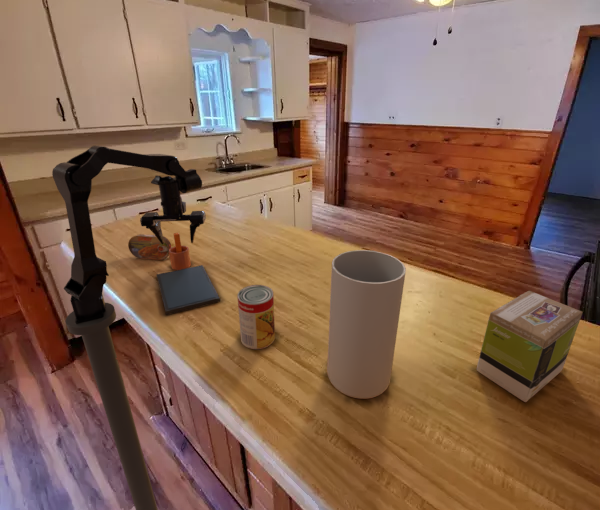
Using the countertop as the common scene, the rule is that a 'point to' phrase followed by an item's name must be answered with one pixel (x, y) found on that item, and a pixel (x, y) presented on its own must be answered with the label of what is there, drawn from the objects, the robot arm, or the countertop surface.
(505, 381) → the tea box
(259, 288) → the canned food
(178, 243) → the stylus
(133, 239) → the tin
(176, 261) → the pen cup
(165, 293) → the tablet
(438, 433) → the countertop surface
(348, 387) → the cylinder vase
